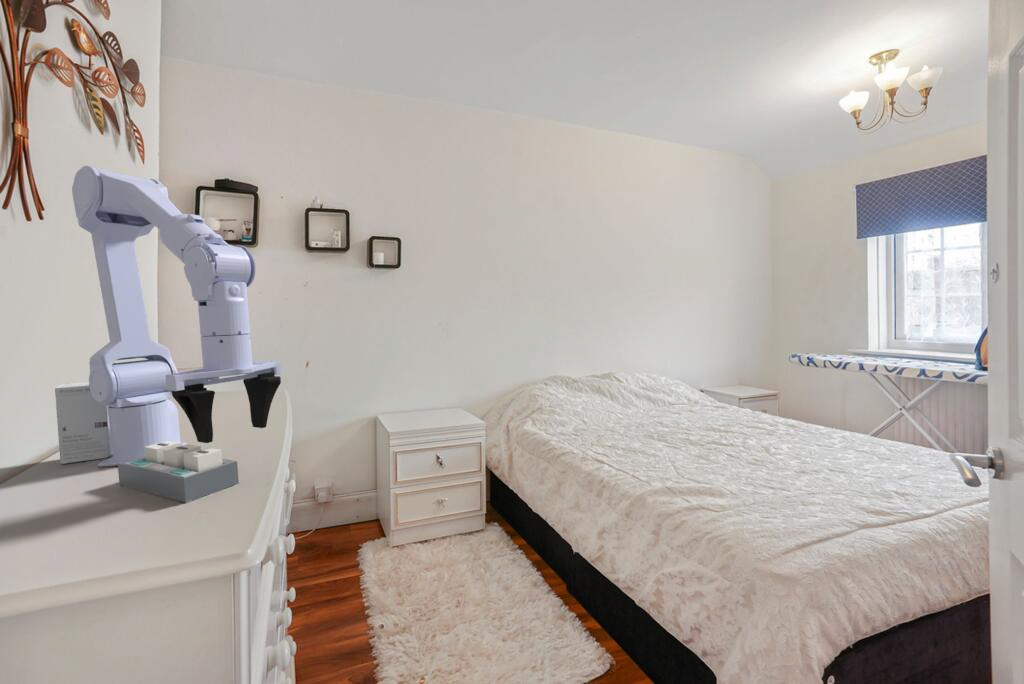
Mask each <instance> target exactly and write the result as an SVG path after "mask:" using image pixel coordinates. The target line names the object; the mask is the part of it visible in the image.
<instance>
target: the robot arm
mask: <svg viewBox="0 0 1024 684" xmlns="http://www.w3.org/2000/svg"><path fill="white" fill-rule="evenodd" d="M168 191H169V190H168V187H167V186H166V185H163V183H162V182H161V181H159V180H157V179H156V178H155V179H154V178H149V179H148V178H144V177H139V176H135V175H130V174H124V173H120V172H115V171H111V170H105V169H101V168H95V167H94V166H91V165H83V166H82V167H81V168H79V169H78V170H77V172H76V173H75V176H74V179H73V183H72V187H71V193H72V198H73V205H74V212H75V215H76V218H77V223H78V226H79V227H80V228H82V229H83V230H85V231H86V232H89V234H91V240H92V241H91V242H92V246H93V250H94V257H95V263H96V269H97V274H98V279H99V285H100V286H99V287H100V291H101V297H102V304H103V309H104V314H105V320H106V326H107V331H108V337H109V342H107V343H106V345H104V346H103V347H101V348H100V349H98V350H97V351H96V352H95V353H93V354H92V356H91V357H90V358H89V376H88V382H89V388H90V392H91V394H92V396H93V398H94V399H95V400H96V401H97V402H99V403H100V404H101V405H102V406H107V407H108V415H109V425H110V436H111V446H112V454H111V457H110V458H109V457H108V458H106V460H103V461H101V462H98V463H97V466H98V467H114V466H118V464H117V463H121V462H124V461H128V460H132V459H136V458H139V457H143V456H145V449H144V447H145V446H149V445H153V444H157V443H162V442H166V441H173V442H179V443H181V446H182V445H186V444H188V443H187V442H186V441H185V442H181V431H180V420H179V419H180V418H179V410H178V407H177V405H176V404H175V403H174V402H173V401H172V400H171V398H173V399H174V400H175V401H176V402H177V403H178V405H179V406H180V407H181V409H182V410H183V411H184V413H185V416H186V417H187V418H188V421H189V422H190V424H191V427H192V429H193V432H194V435H195V438H196V441H197V442H198V443H203V444H209V443H212V442H213V440H214V439H213V438H214V428H213V419H212V417H213V406H214V405H213V404H214V399H215V394H216V392H215V391H214V390H210V389H209V390H207V389H208V388H207V387H205V386H210V385H217V384H223V383H229V382H236V381H240V380H242V382H243V385H244V387H245V390H246V393H247V398H248V401H249V411H250V413H249V414H250V421H251V424H252V427H253V428H259V429H264V428H267V423H268V419H269V415H270V414H269V413H270V409H271V405H272V402H273V400H274V397H275V395H276V393H277V390H278V388H279V386H280V385H281V383H282V378H281V376H277V375H282V366H281V365H282V362H281V361H279V360H270V361H269V360H268V361H260V362H253V352H252V339H251V325H250V312H249V301H248V300H249V296H248V287H250V286H251V285H252V283H253V281H254V280H255V276H256V272H257V271H256V262H255V259H254V257H253V255H252V253H251V252H250V250H248V248H247V247H246V246H244V245H239V244H237V245H233V244H229V243H228V242H226V241H225V240H224V238H223V237H222V235H221V234H219V233H216V232H215V231H214V230H213V229H212V228H210V227H209V226H208V225H206V223H205V218H203V217H202V216H201V215H199V214H193V213H192V214H191V213H188V214H187V213H182V212H181V211H180V210H179V209H178V208H177V207H176V205H175V204H174V203H173V202H172V201H171V200H170V199H169V193H168ZM155 227H156V228H157V229H158V230H160V231H159V238H160V240H161V242H162V244H163V245H164V246H165V248H167V249H168V250H169V251H170V252H171V253H172V254H173V255H174V256H176V257H177V259H179V260H180V262H182V264H184V265H183V271H184V274H185V277H186V280H187V281H188V284H189V285H190V290H191V297H193V300H194V301H196V302H197V308H198V309H197V310H198V311H197V312H198V321H199V323H198V324H199V331H200V332H199V333H200V342H201V343H200V345H201V356H202V357H201V359H202V368H200V369H193V370H188V371H183V372H178V369H177V366H176V365H175V363H174V361H173V359H172V355H171V351H170V349H169V348H167V347H166V346H164V345H162V344H160V343H159V342H157V341H155V340H154V339H152V338H151V332H150V327H149V321H148V316H147V309H146V304H145V297H144V291H143V285H142V279H141V274H140V269H139V268H140V267H139V263H138V258H137V257H138V256H137V253H136V245H135V242H136V239H138V238H140V237H143V236H146V235H149V234H150V233H151V232H152V231H153V229H154V228H155ZM134 359H142V360H134ZM122 360H123V361H122ZM125 360H133V361H125ZM116 361H122V362H116ZM124 361H125V362H124ZM220 377H222V378H220ZM223 377H224V378H223ZM171 396H172V397H171Z"/></svg>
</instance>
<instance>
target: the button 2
mask: <svg viewBox="0 0 1024 684" xmlns="http://www.w3.org/2000/svg"><path fill="white" fill-rule="evenodd" d="M183 456H184V467H185V470H189V471H194V472H200V471H203V470H206V469H209V468H213V467H216V466H219V465H222V464H223V461H222V459H223V450H222V449H219V448H212V447H205V448H201V450H197V451H194V452H190V453H186V454H183Z"/></svg>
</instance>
